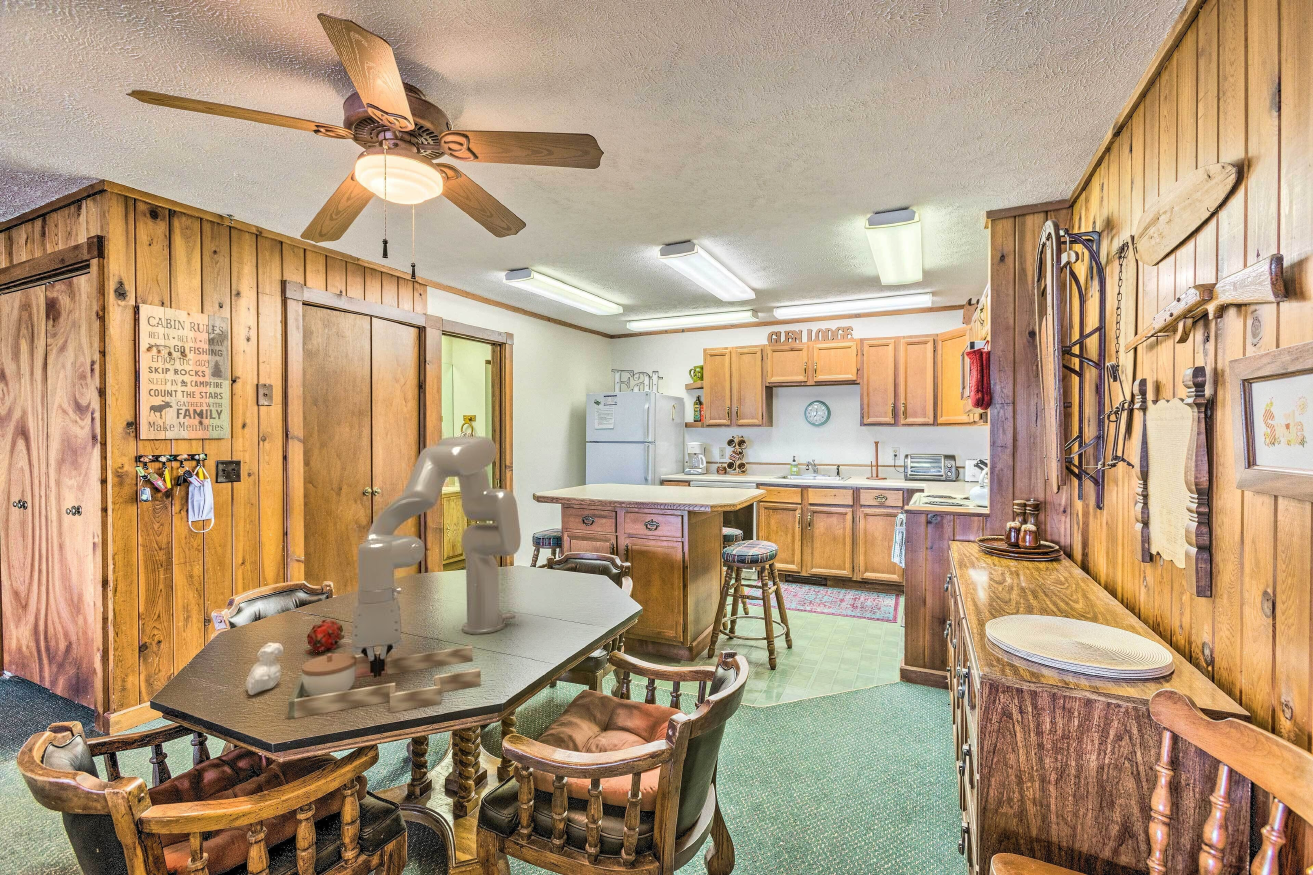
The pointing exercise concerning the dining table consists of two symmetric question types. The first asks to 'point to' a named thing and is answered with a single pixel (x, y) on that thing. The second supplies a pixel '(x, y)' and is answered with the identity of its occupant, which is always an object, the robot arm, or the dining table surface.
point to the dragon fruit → (325, 635)
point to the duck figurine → (265, 669)
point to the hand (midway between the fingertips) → (377, 674)
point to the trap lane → (391, 685)
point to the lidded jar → (329, 674)
